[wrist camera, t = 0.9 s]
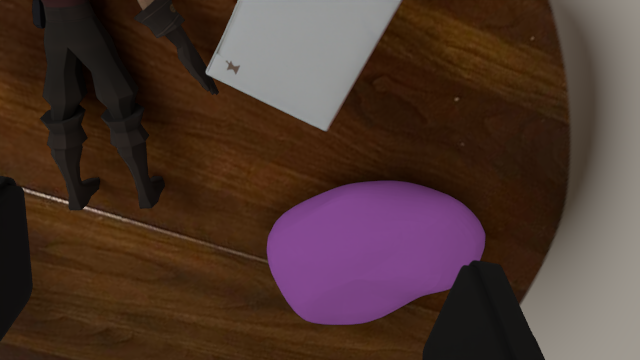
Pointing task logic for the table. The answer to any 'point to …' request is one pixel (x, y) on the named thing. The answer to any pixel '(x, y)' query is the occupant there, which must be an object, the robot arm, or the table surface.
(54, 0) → the figurine
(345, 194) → the blob
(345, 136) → the table surface
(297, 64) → the small box
